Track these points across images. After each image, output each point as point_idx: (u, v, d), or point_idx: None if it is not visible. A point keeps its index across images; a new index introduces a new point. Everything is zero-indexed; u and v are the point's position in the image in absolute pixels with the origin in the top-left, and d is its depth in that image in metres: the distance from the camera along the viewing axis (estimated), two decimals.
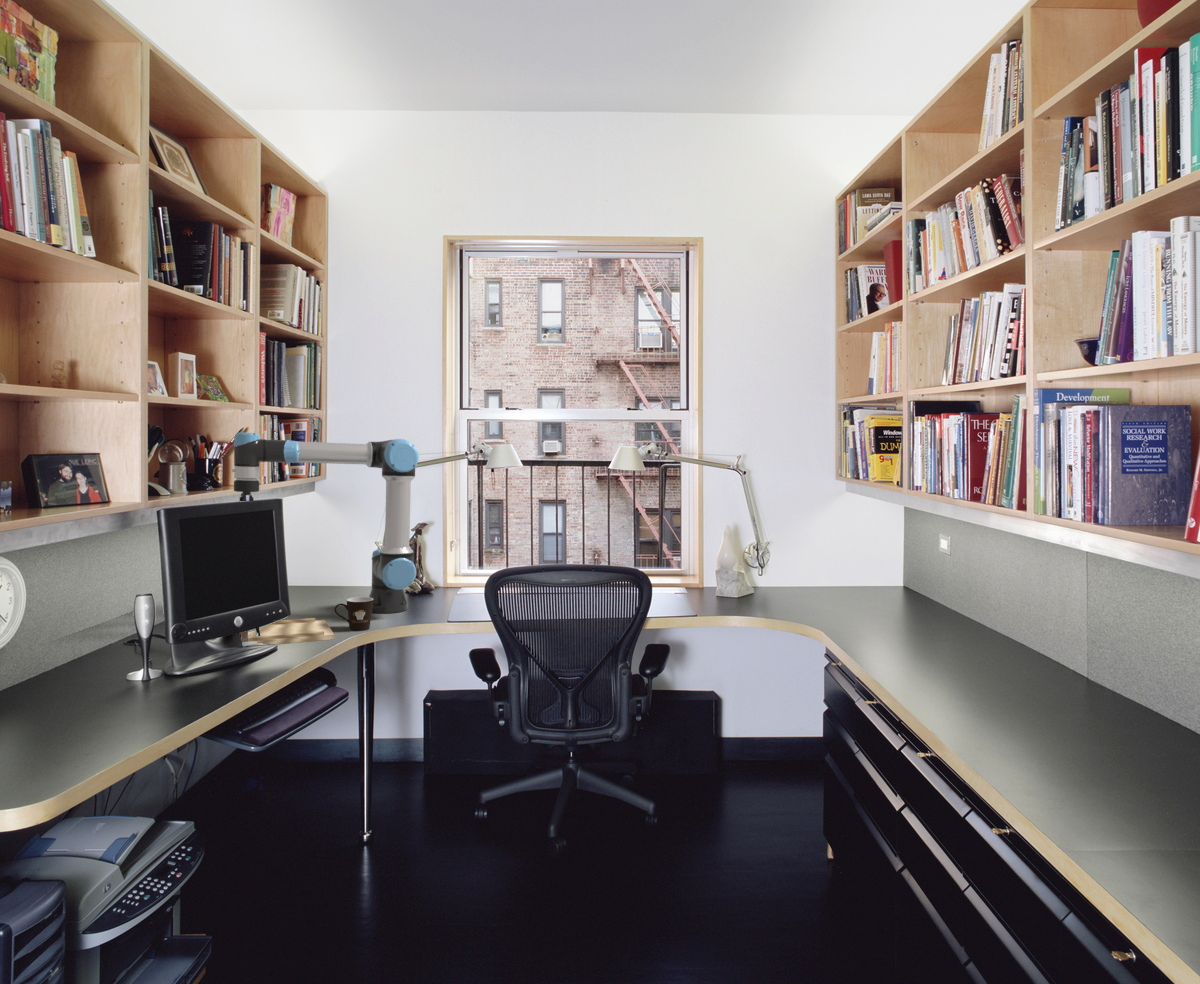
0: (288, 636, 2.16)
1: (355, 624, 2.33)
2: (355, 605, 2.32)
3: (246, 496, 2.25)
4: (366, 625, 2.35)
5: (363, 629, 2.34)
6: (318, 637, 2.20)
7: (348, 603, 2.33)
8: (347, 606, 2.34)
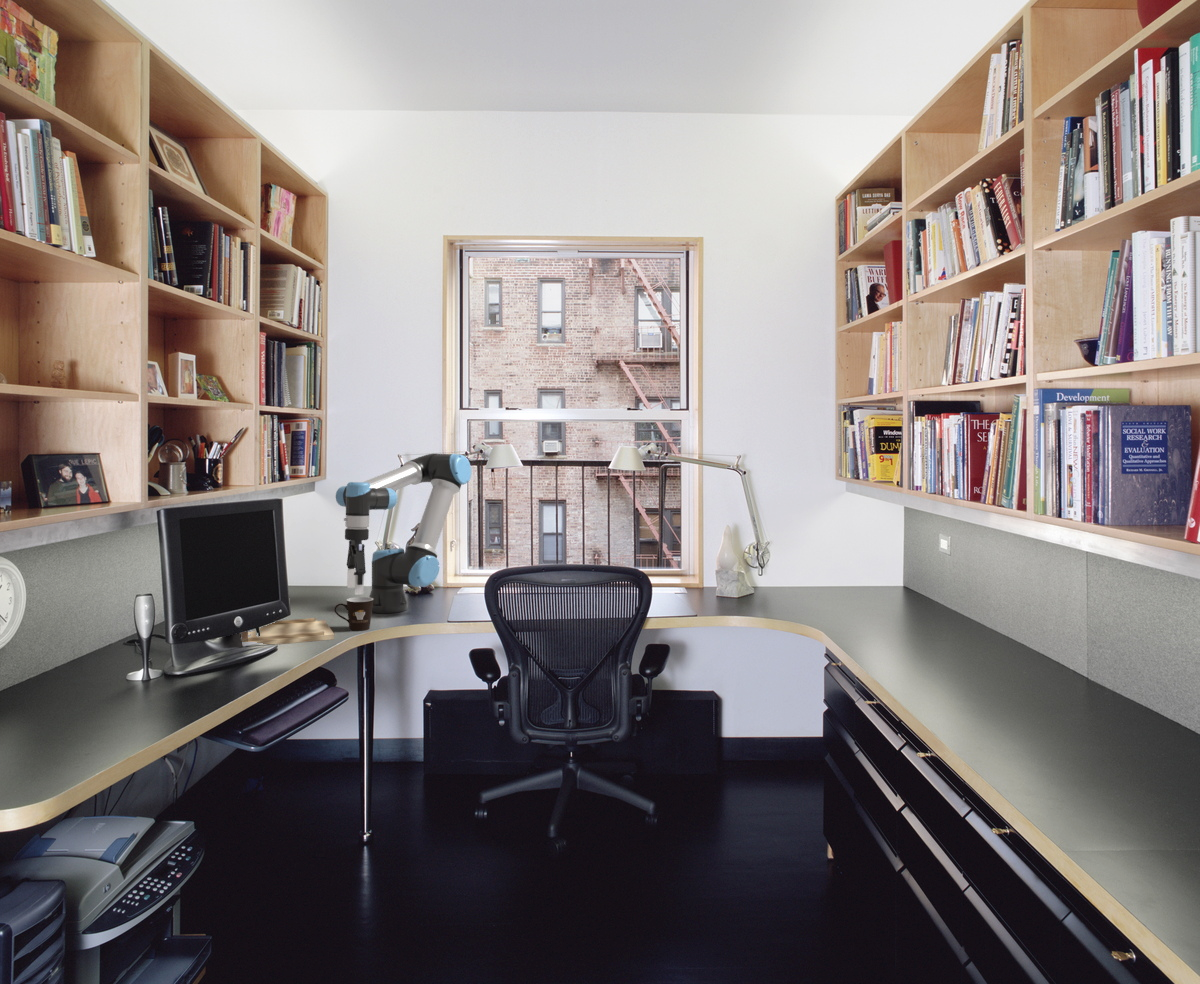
0: (288, 636, 2.16)
1: (355, 624, 2.33)
2: (355, 605, 2.32)
3: (359, 545, 2.29)
4: (366, 625, 2.35)
5: (363, 629, 2.34)
6: (318, 637, 2.20)
7: (348, 603, 2.33)
8: (347, 606, 2.34)
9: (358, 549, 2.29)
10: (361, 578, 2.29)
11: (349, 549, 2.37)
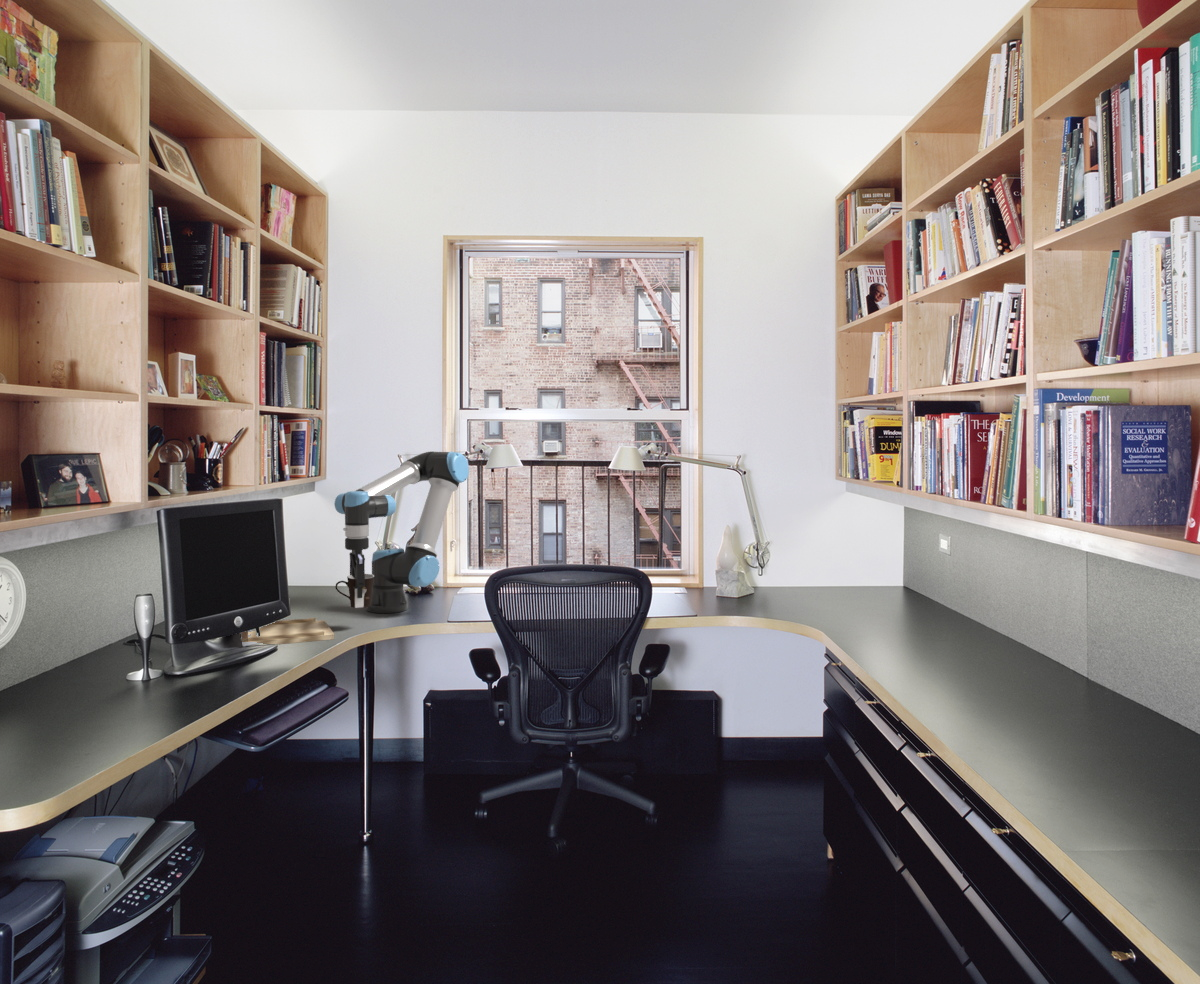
0: (288, 636, 2.16)
1: None
2: None
3: (359, 559, 2.30)
4: (368, 602, 2.36)
5: (365, 606, 2.35)
6: (318, 637, 2.20)
7: (349, 580, 2.33)
8: (348, 583, 2.34)
9: (358, 563, 2.30)
10: (361, 591, 2.32)
11: (350, 560, 2.37)
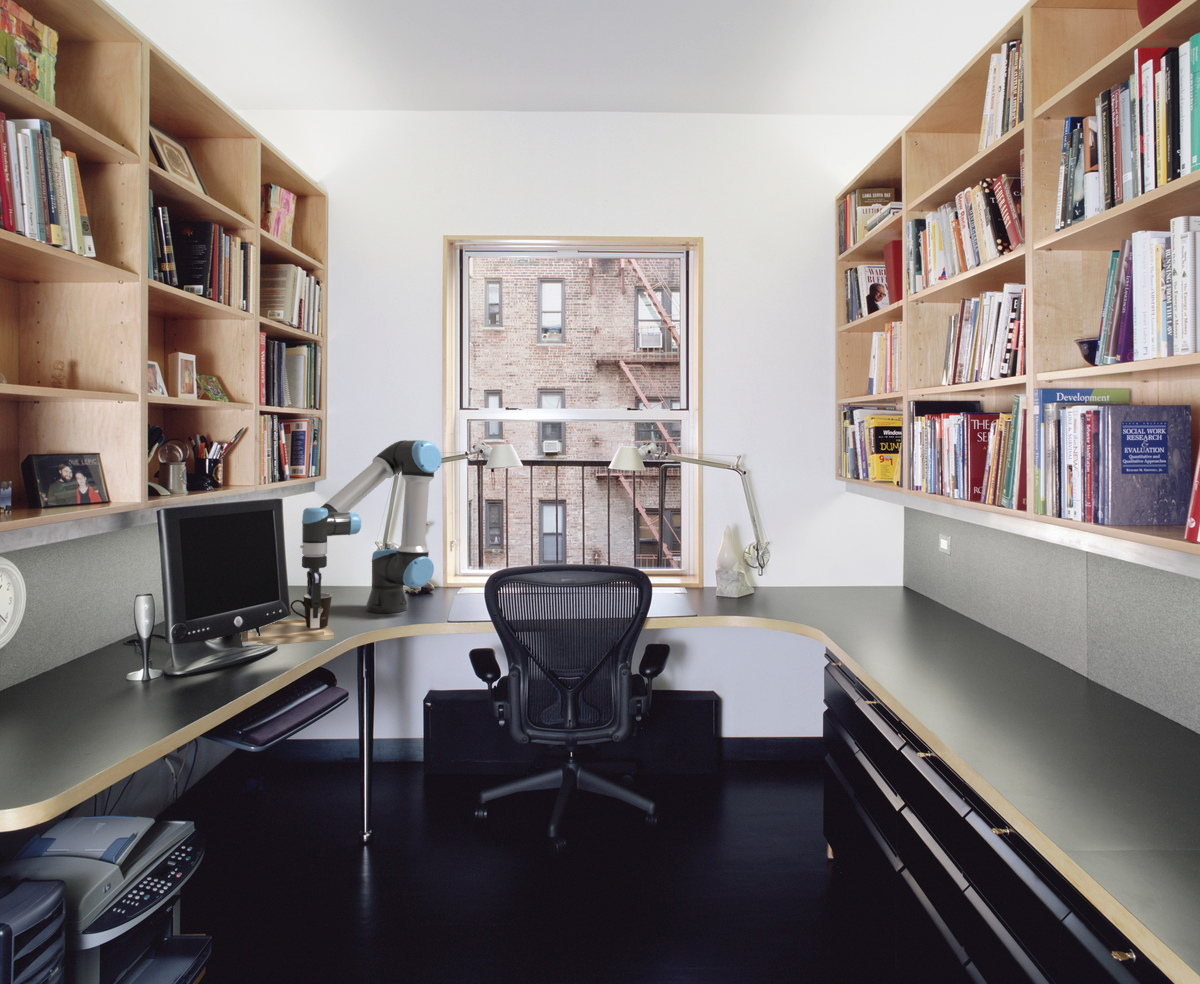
0: (288, 636, 2.16)
1: None
2: None
3: (315, 578, 2.22)
4: (324, 622, 2.28)
5: (321, 626, 2.27)
6: (318, 637, 2.20)
7: (305, 599, 2.26)
8: (304, 602, 2.27)
9: (314, 582, 2.23)
10: (316, 611, 2.25)
11: None
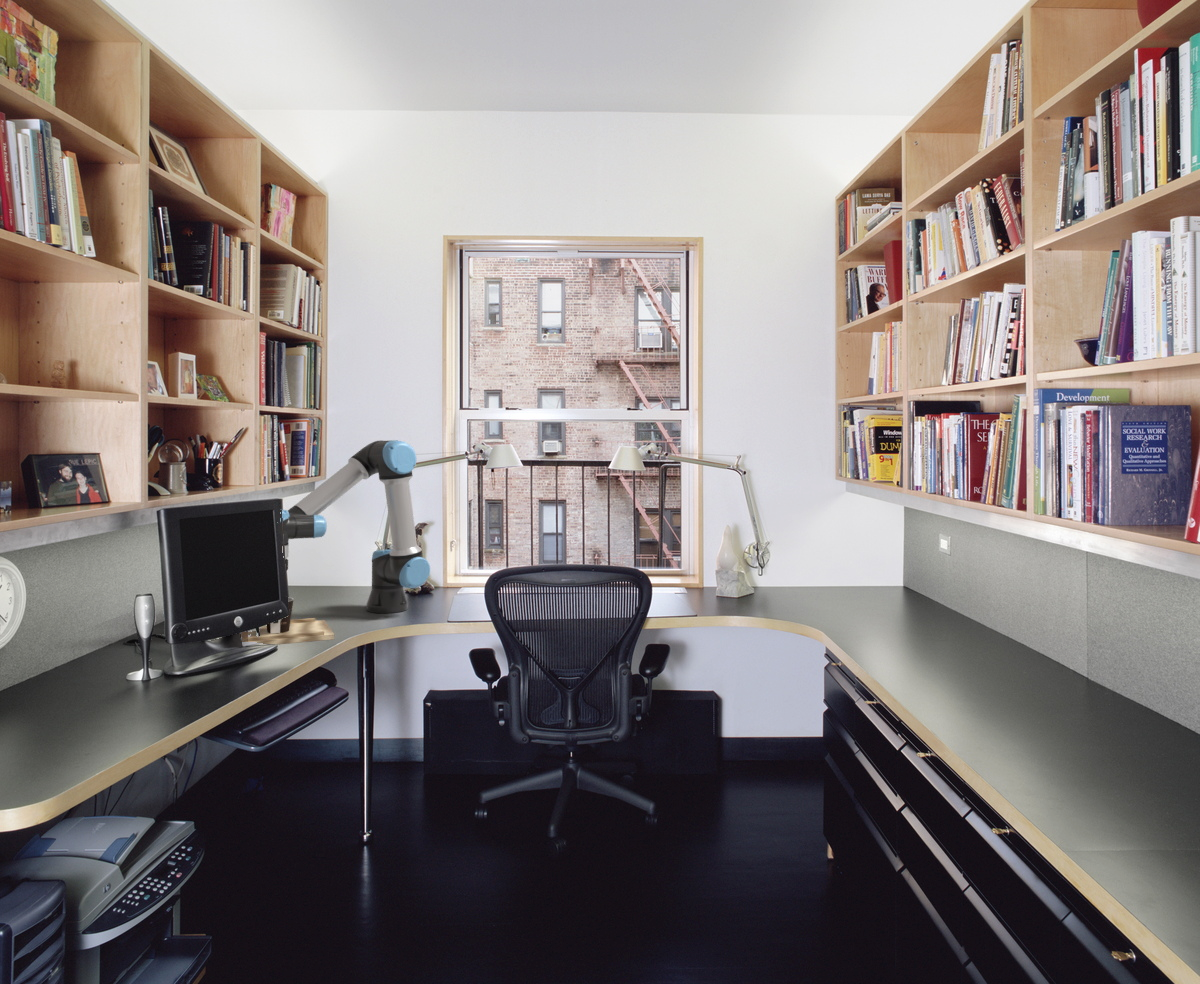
0: (288, 636, 2.16)
1: None
2: None
3: None
4: (285, 627, 2.22)
5: (281, 631, 2.22)
6: (318, 637, 2.20)
7: None
8: None
9: None
10: None
11: None
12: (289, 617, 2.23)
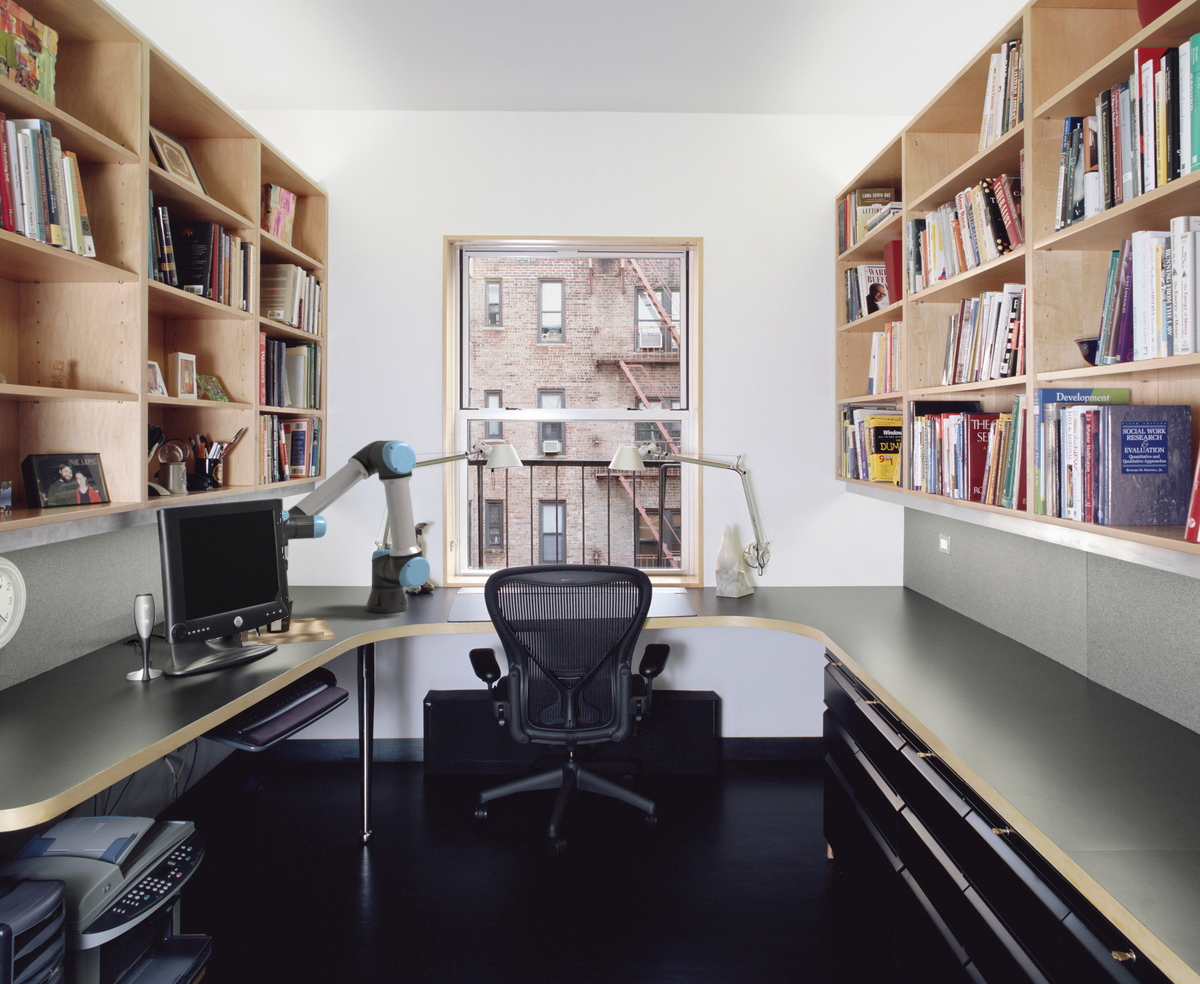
0: (288, 636, 2.16)
1: None
2: None
3: None
4: (285, 627, 2.22)
5: (281, 631, 2.22)
6: (318, 637, 2.20)
7: None
8: None
9: None
10: None
11: None
12: (289, 617, 2.24)
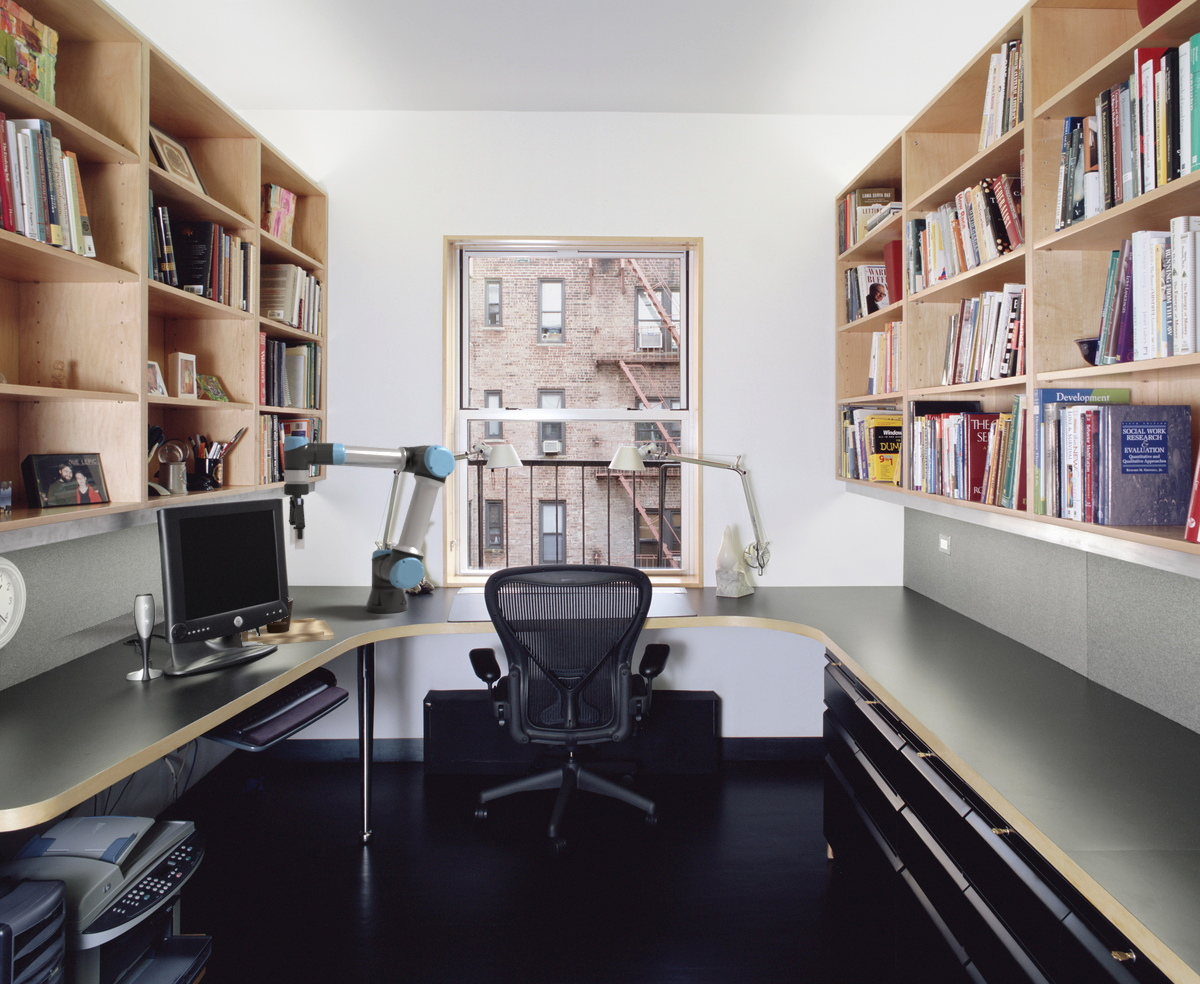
0: (288, 636, 2.16)
1: (272, 626, 2.20)
2: None
3: (298, 499, 2.27)
4: (285, 627, 2.22)
5: (281, 631, 2.22)
6: (318, 637, 2.20)
7: None
8: None
9: (297, 503, 2.27)
10: (301, 532, 2.27)
11: (290, 505, 2.35)
12: (289, 617, 2.24)
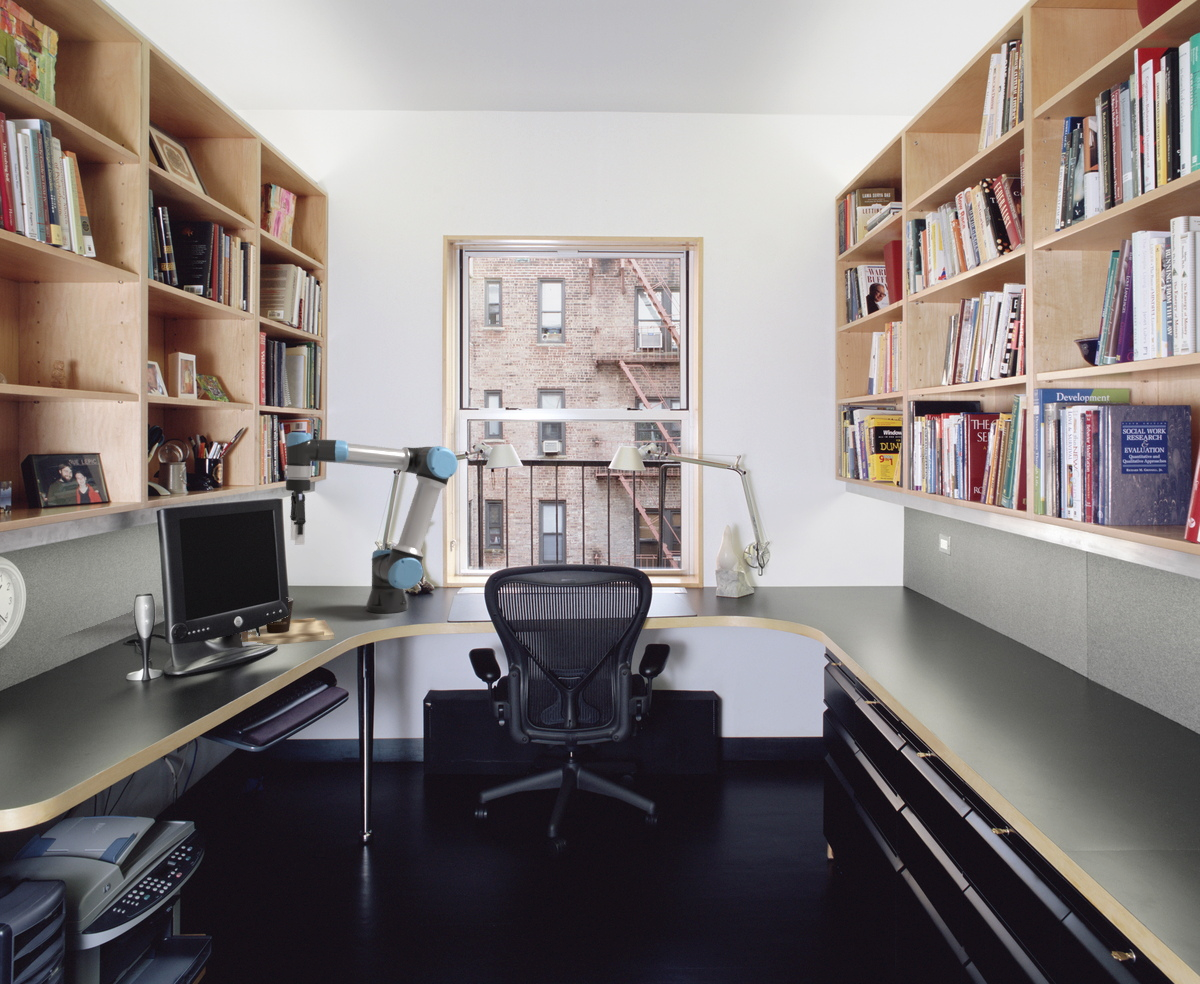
0: (288, 636, 2.16)
1: (272, 626, 2.20)
2: None
3: (299, 495, 2.28)
4: (285, 627, 2.22)
5: (281, 631, 2.22)
6: (318, 637, 2.20)
7: None
8: None
9: (298, 499, 2.28)
10: (301, 528, 2.27)
11: (291, 500, 2.36)
12: (289, 617, 2.24)
